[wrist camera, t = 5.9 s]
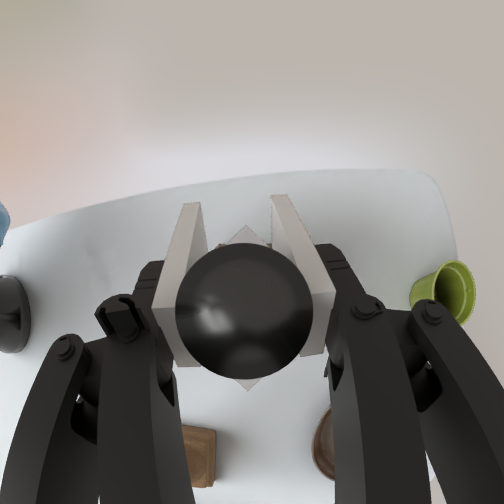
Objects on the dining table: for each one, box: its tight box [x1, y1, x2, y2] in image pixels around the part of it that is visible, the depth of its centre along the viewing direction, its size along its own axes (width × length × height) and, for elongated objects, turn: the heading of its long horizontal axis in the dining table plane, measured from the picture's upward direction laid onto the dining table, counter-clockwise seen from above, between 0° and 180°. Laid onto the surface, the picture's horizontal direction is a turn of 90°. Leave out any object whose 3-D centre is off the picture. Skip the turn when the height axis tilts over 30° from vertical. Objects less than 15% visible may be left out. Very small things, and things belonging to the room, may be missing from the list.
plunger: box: [175, 243, 313, 380], centre depth 17 cm, size 9×9×22 cm
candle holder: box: [181, 425, 216, 488], centre depth 20 cm, size 11×11×24 cm
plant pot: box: [410, 260, 476, 326], centre depth 33 cm, size 9×9×9 cm
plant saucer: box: [312, 405, 335, 481], centre depth 31 cm, size 21×21×3 cm
